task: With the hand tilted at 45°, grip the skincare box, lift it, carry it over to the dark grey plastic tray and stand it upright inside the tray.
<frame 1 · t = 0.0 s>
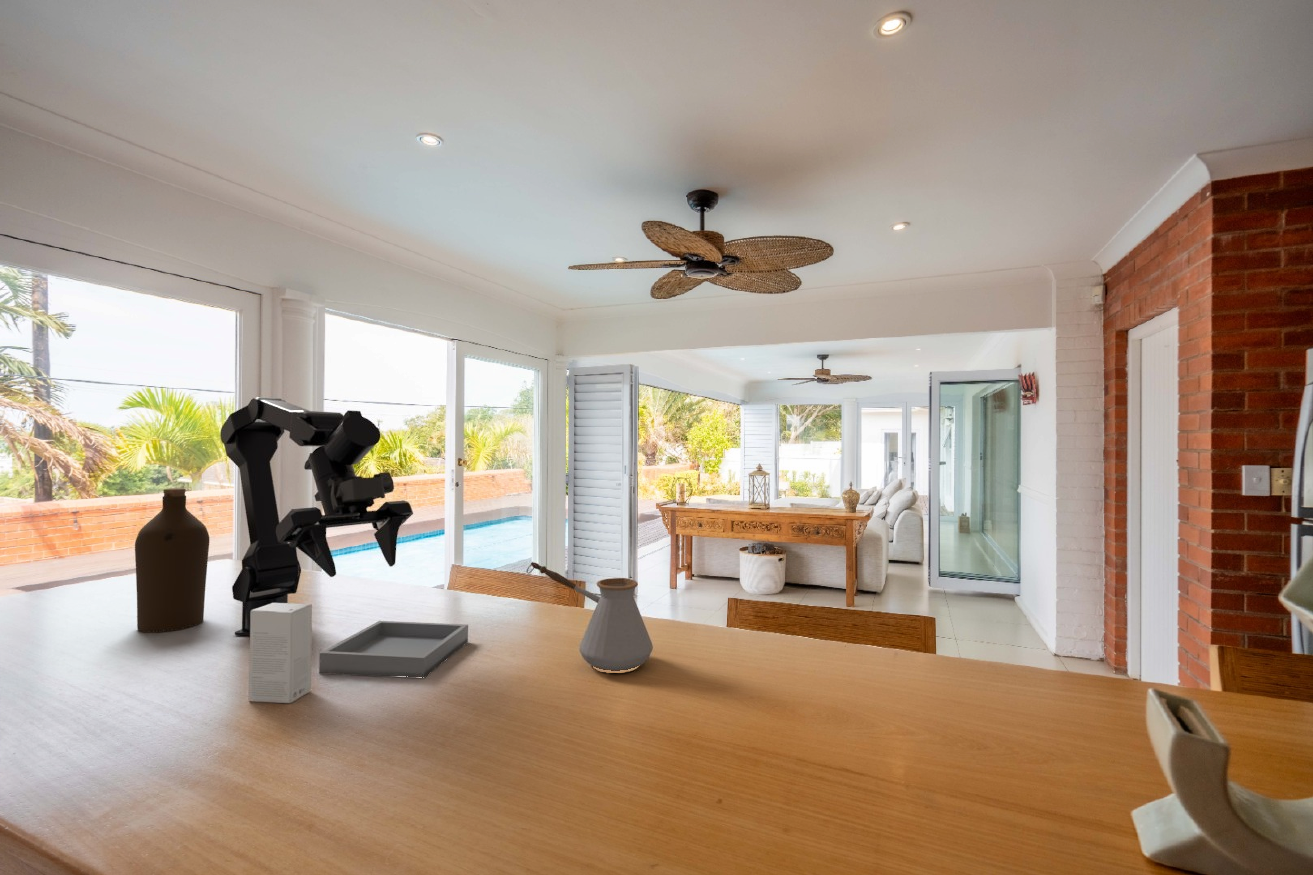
hand: (364, 570, 89), 15 cm above the table, tool tilted 35°, fingers open, 9 cm apart
olive oil: (171, 625, 109), on the table
coffee pot: (586, 662, 94), on the table
skincare box: (280, 697, 79), on the table
tray: (399, 656, 95), on the table
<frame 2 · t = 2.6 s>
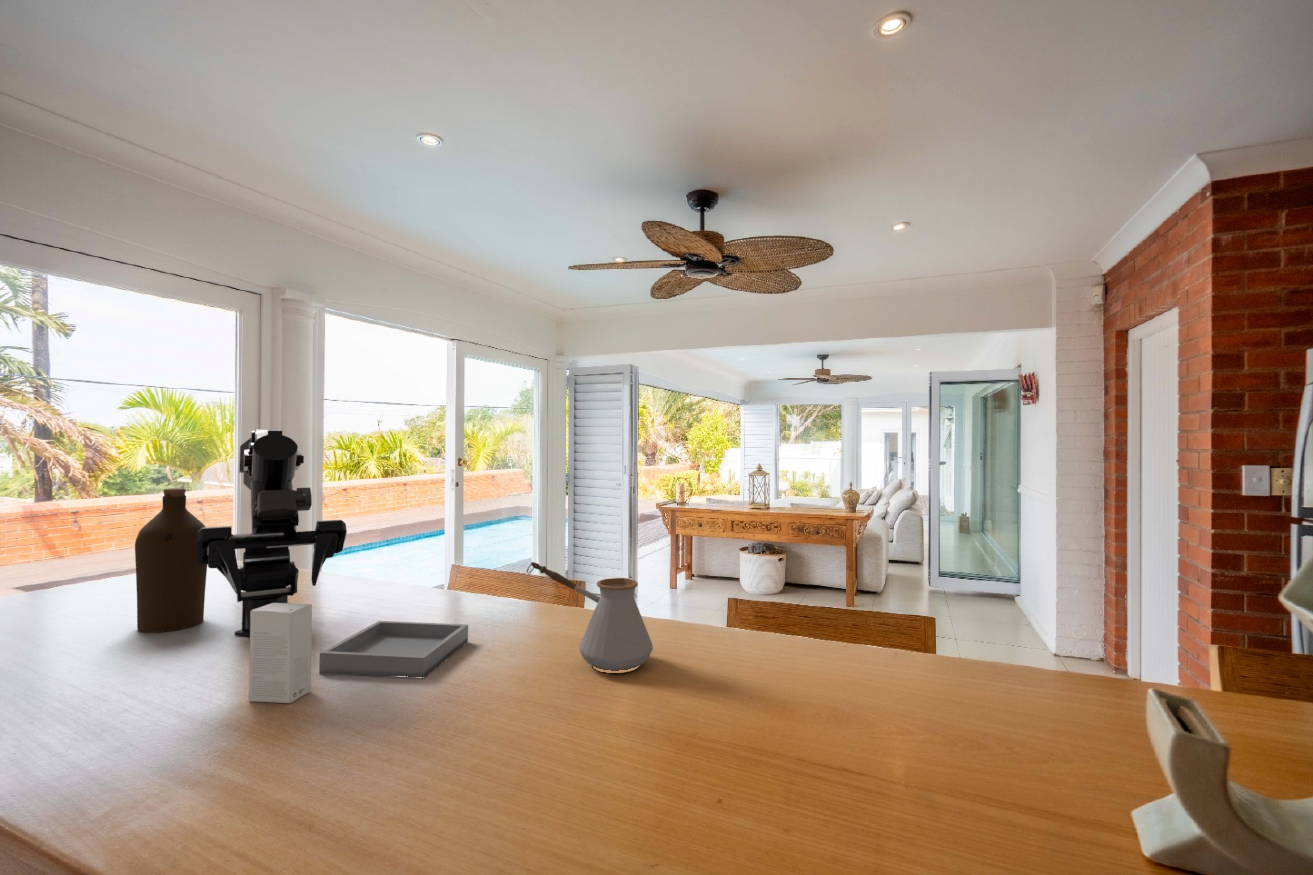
hand: (277, 588, 85), 13 cm above the table, tool tilted 45°, fingers open, 9 cm apart
nothing on the table moved.
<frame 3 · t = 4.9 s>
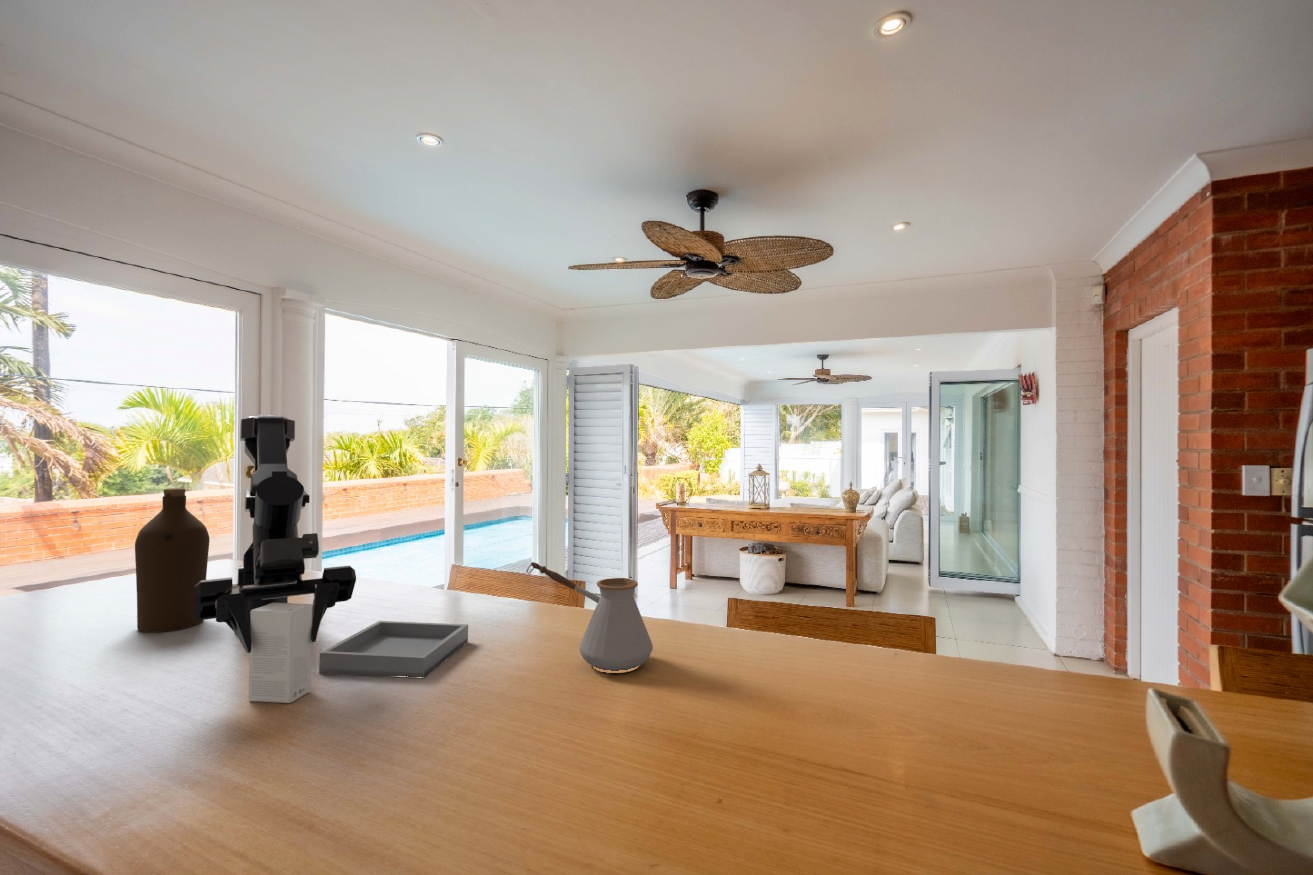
hand: (282, 645, 78), 7 cm above the table, tool tilted 45°, fingers closed on skincare box, 7 cm apart
skincare box: (280, 697, 79), on the table, touching gripper
everything else where it was.
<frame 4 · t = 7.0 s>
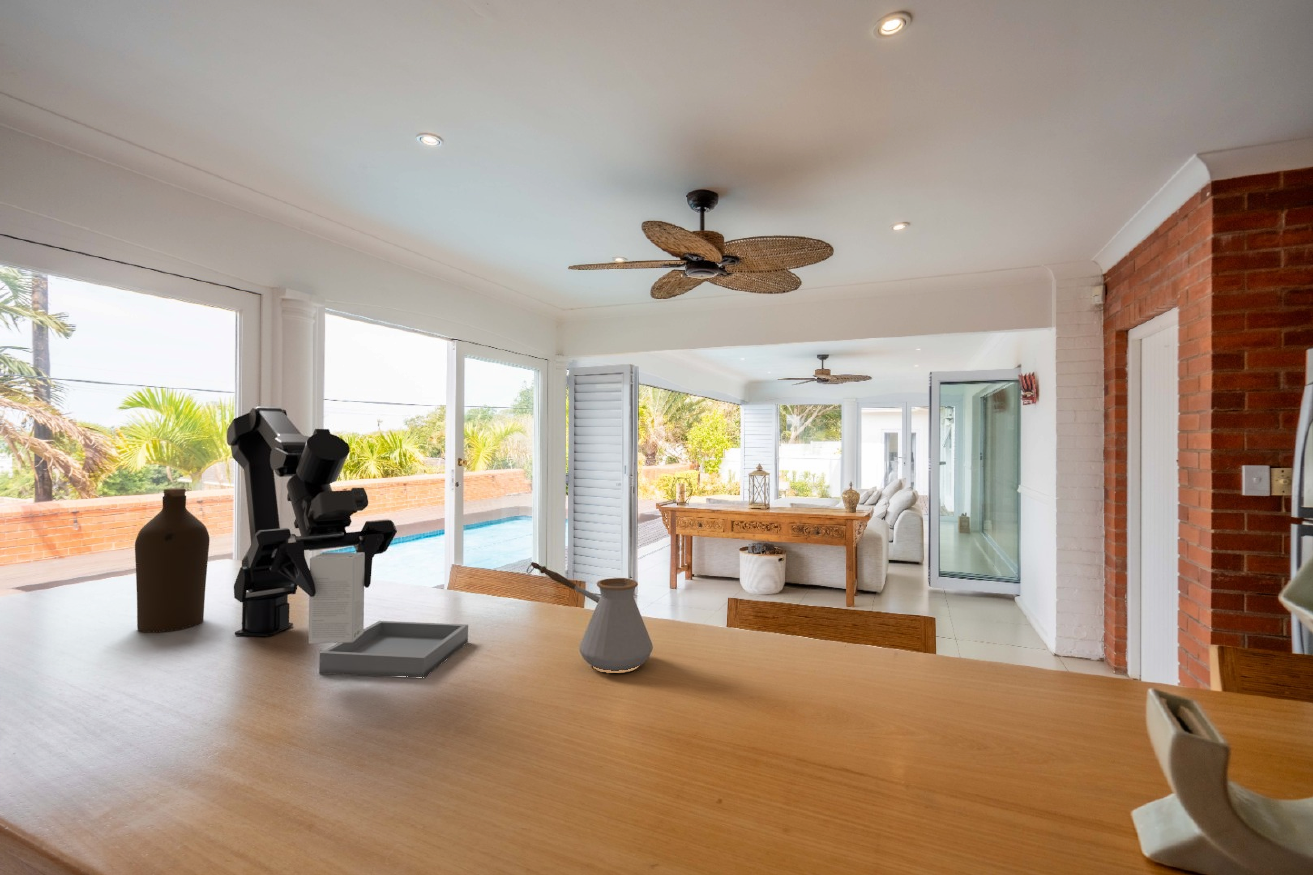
hand: (341, 590, 84), 13 cm above the table, tool tilted 45°, fingers closed on skincare box, 7 cm apart
skincare box: (336, 640, 84), point 6 cm above the table, touching gripper
everything else where it was.
when the fingers open (9 cm above the table, at t = 9.5 s): skincare box drops 1 cm, resting on tray.
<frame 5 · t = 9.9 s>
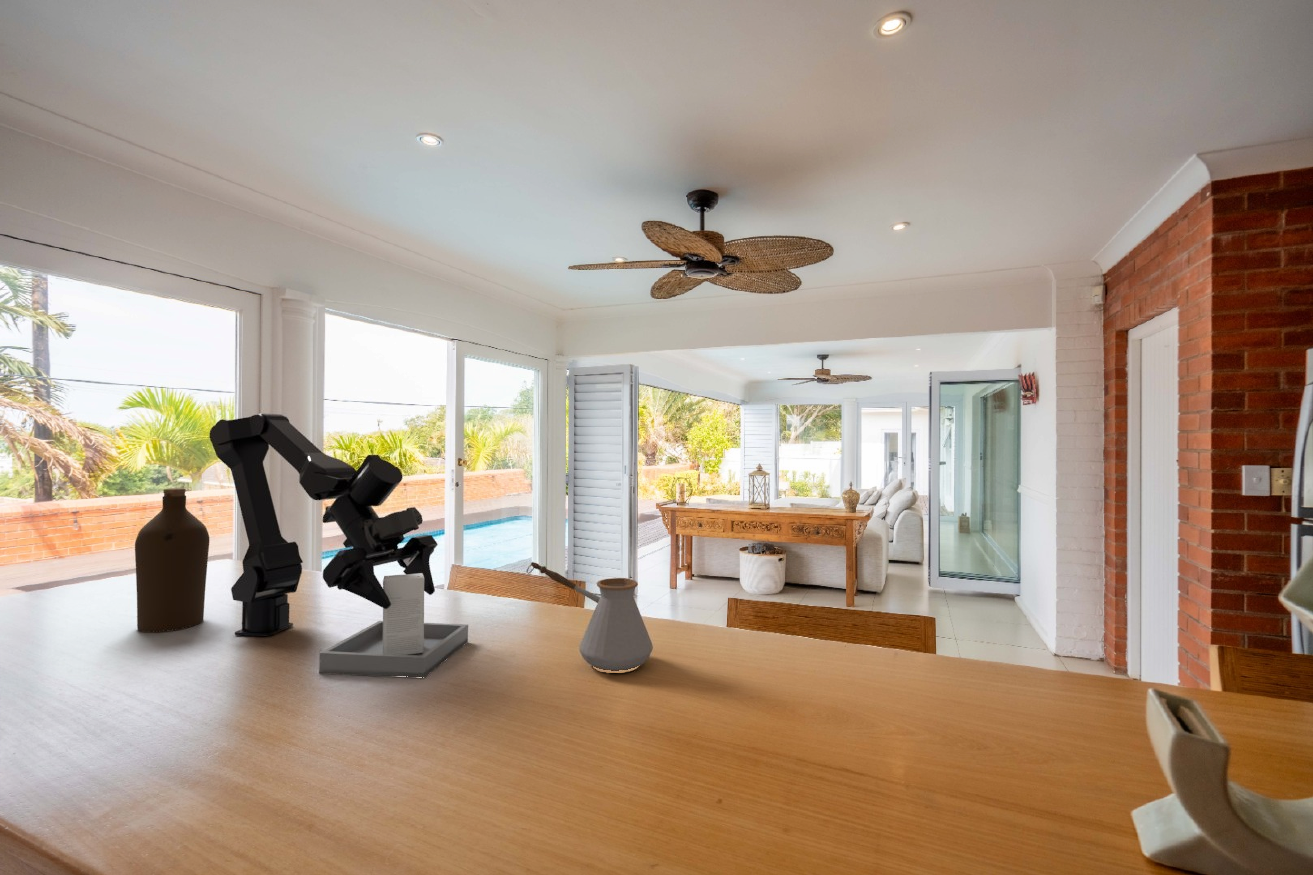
hand: (411, 599, 94), 9 cm above the table, tool tilted 45°, fingers open, 9 cm apart
skincare box: (402, 653, 94), point 1 cm above the table, touching tray
everything else where it was.
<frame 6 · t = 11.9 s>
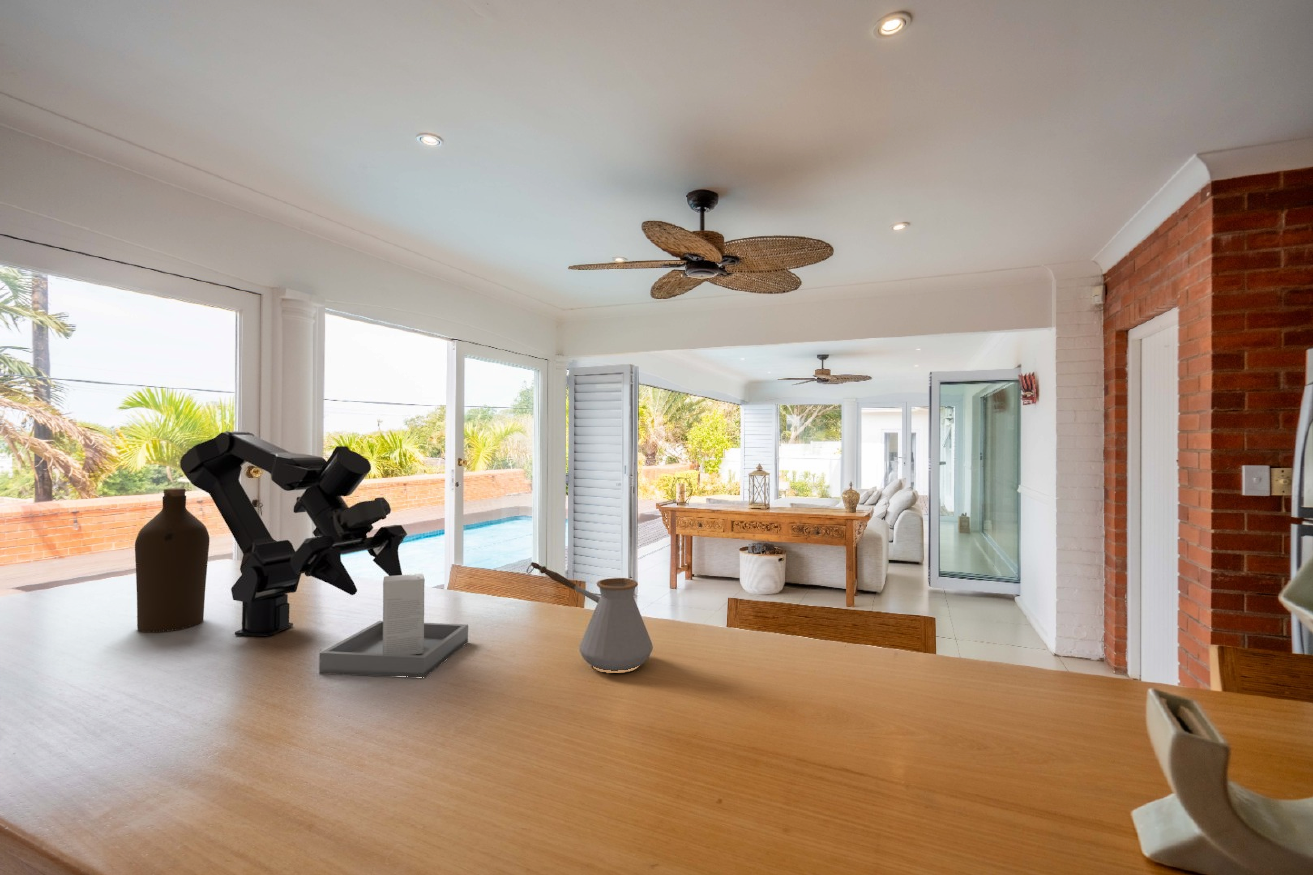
hand: (378, 586, 96), 11 cm above the table, tool tilted 45°, fingers open, 9 cm apart
nothing on the table moved.
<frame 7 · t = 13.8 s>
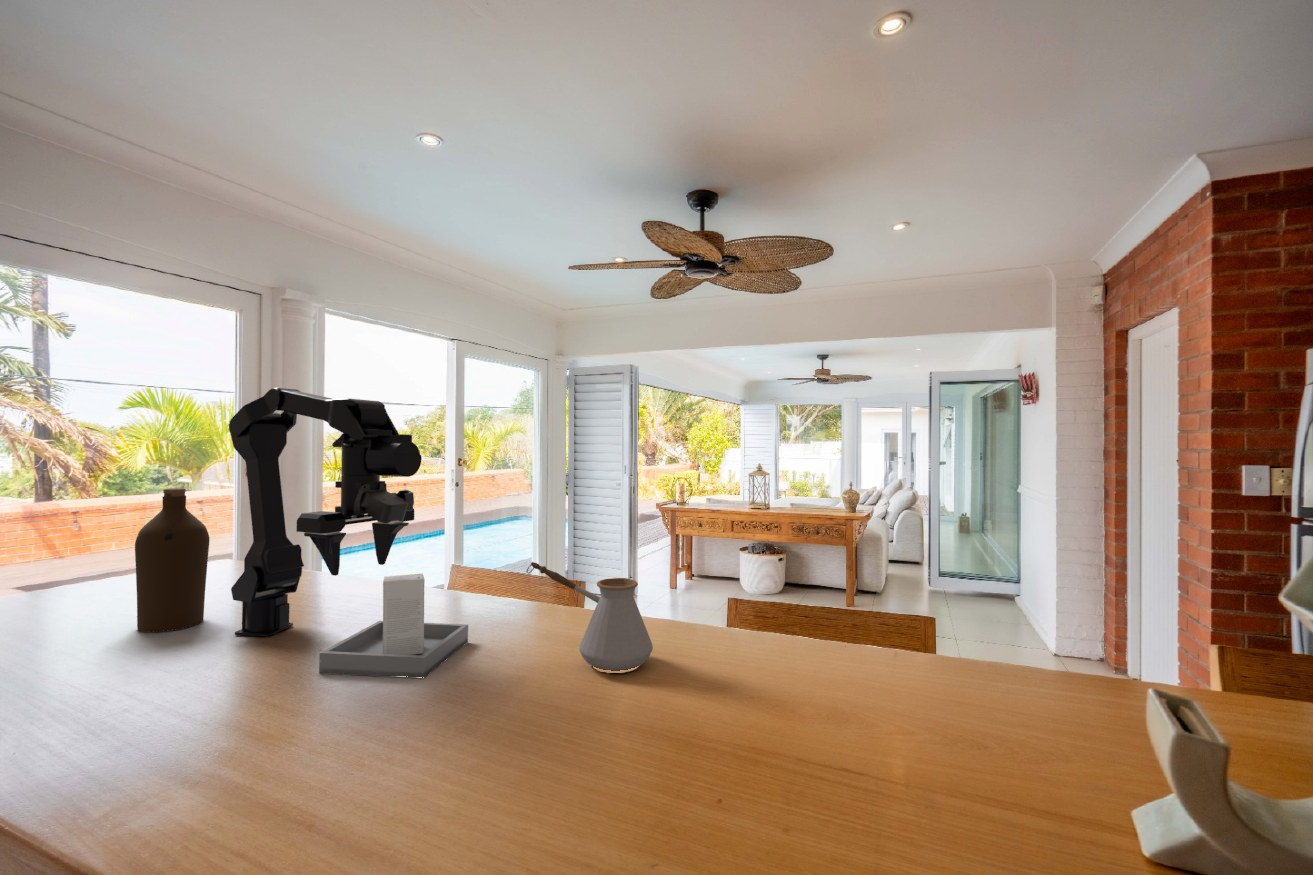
hand: (359, 569, 98), 13 cm above the table, tool pointing down, fingers open, 9 cm apart
nothing on the table moved.
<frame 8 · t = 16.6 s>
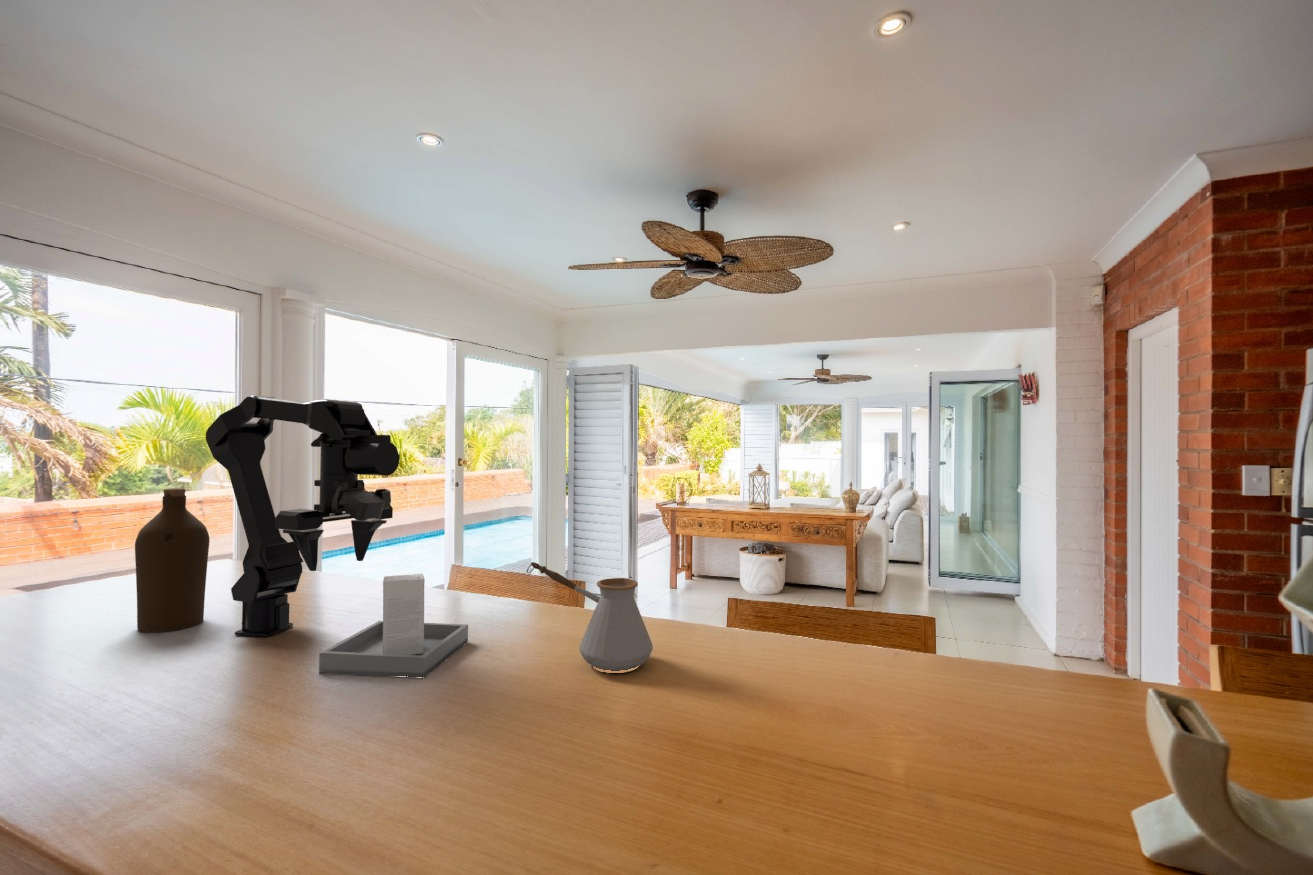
hand: (337, 565, 101), 13 cm above the table, tool pointing down, fingers open, 9 cm apart
nothing on the table moved.
at the end: skincare box inside the target area on the tray (0.9 cm from its centre), point 0.6 cm above the tray's base; skincare box tilted 0°; the gripper is holding nothing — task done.
